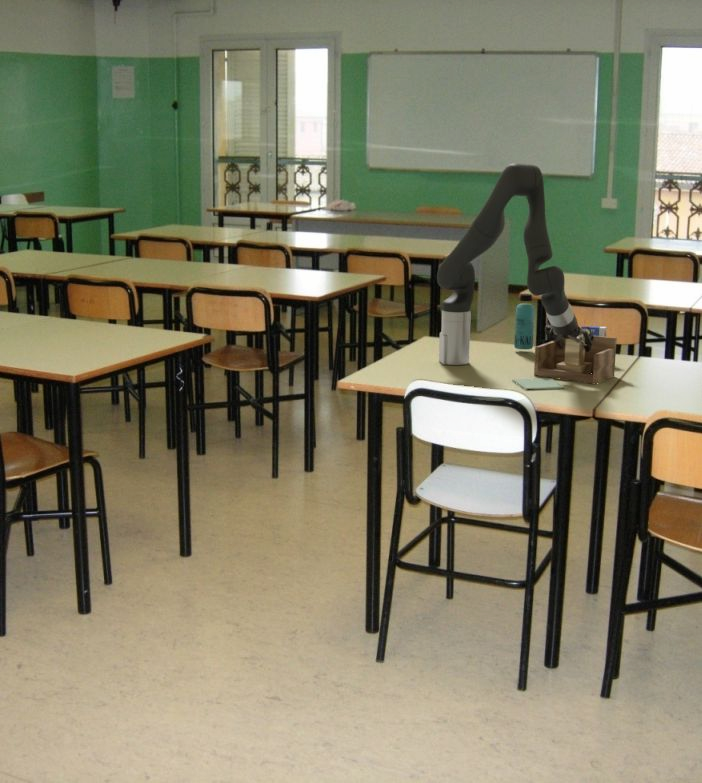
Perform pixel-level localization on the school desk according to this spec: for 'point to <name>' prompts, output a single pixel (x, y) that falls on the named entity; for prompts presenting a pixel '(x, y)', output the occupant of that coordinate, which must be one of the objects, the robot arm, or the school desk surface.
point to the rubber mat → (538, 383)
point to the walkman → (597, 330)
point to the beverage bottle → (524, 323)
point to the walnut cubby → (595, 362)
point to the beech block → (574, 352)
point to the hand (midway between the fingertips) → (575, 348)
